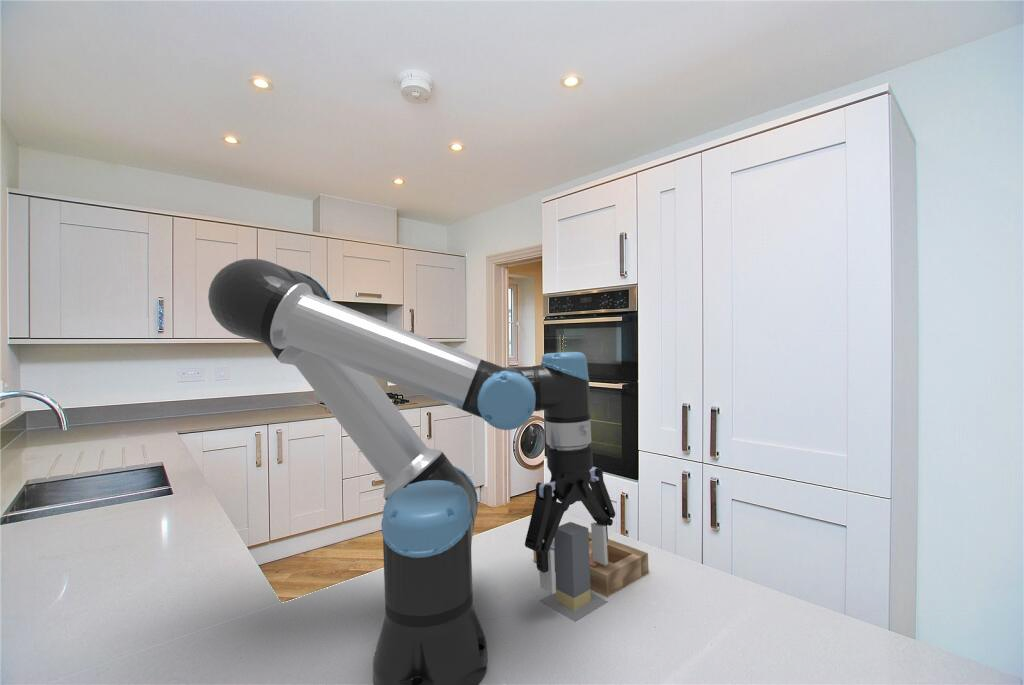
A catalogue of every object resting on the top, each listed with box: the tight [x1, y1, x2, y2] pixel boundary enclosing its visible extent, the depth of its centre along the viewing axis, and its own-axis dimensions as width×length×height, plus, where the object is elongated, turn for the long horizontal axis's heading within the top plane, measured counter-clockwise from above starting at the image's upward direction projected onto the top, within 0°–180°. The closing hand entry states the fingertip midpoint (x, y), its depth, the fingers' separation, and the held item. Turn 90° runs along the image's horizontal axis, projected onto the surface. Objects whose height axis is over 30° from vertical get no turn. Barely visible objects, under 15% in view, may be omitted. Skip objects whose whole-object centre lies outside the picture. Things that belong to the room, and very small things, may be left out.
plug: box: [554, 521, 592, 611], centre depth 77 cm, size 4×4×12 cm
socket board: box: [532, 531, 649, 598], centre depth 89 cm, size 12×18×4 cm, turn 40°
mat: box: [539, 593, 609, 622], centre depth 77 cm, size 8×8×1 cm
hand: (575, 575), depth 77 cm, fingers open, 12 cm apart
